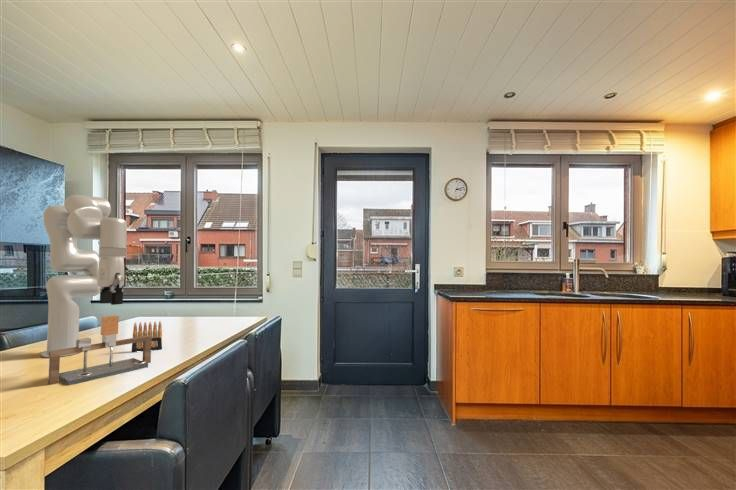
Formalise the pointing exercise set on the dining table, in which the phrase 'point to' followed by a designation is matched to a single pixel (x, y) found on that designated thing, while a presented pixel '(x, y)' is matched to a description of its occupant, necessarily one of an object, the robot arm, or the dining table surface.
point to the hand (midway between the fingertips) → (111, 303)
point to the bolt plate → (101, 371)
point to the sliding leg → (109, 333)
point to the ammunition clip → (156, 338)
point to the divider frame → (85, 346)
